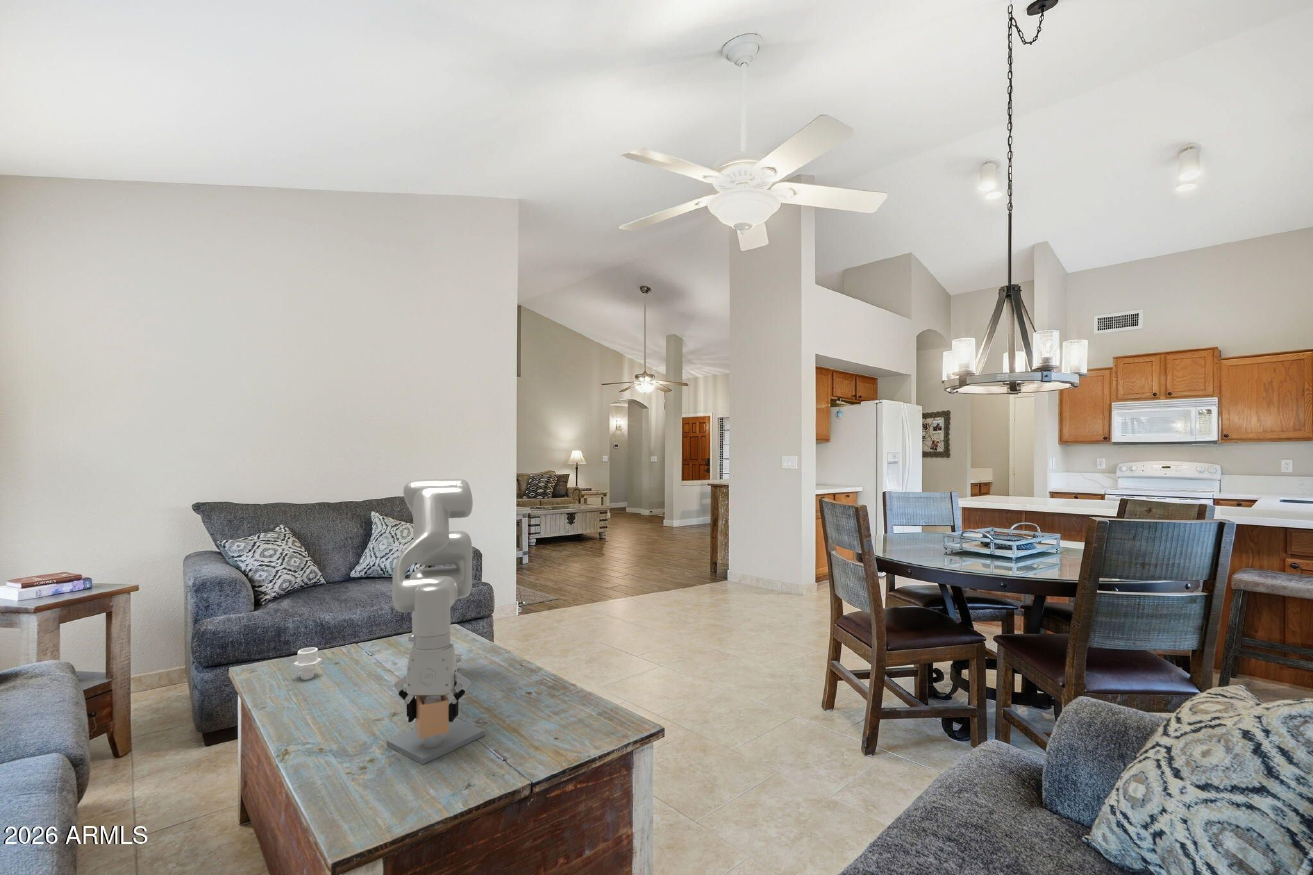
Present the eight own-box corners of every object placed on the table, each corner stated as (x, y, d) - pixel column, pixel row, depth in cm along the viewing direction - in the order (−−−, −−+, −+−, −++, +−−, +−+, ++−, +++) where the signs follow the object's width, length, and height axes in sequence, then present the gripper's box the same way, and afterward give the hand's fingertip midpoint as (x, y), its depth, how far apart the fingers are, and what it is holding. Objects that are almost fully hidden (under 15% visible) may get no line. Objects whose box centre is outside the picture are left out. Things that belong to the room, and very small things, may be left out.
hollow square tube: (415, 727, 136) (415, 695, 136) (443, 721, 139) (443, 690, 139) (419, 738, 130) (420, 705, 131) (448, 732, 133) (449, 700, 134)
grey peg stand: (448, 719, 150) (448, 673, 150) (484, 735, 141) (484, 686, 142) (386, 745, 137) (386, 695, 137) (422, 764, 128) (422, 710, 129)
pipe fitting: (310, 672, 183) (310, 645, 183) (325, 675, 179) (325, 648, 180) (289, 679, 177) (289, 651, 177) (304, 683, 174) (305, 655, 174)
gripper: (386, 646, 132) (385, 727, 131) (466, 645, 131) (466, 727, 131) (401, 635, 139) (400, 712, 139) (476, 635, 139) (477, 712, 138)
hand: (432, 719), depth 135 cm, fingers closed on hollow square tube, 8 cm apart
